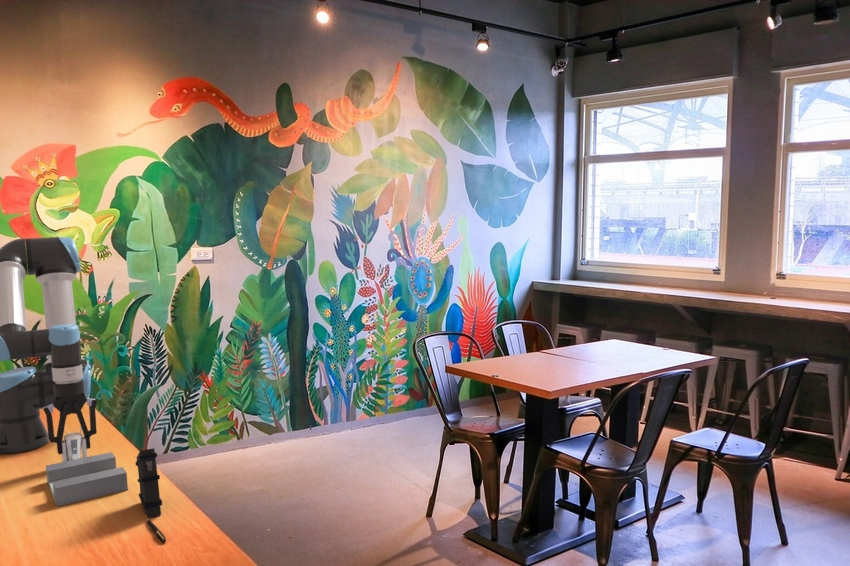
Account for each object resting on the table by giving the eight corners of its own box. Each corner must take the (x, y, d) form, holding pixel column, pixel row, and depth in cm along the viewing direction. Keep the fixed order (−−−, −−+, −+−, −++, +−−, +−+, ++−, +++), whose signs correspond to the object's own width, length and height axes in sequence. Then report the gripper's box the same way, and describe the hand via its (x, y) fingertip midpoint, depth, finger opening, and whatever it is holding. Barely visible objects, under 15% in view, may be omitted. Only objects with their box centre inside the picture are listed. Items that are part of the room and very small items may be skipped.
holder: (47, 482, 183) (45, 465, 182) (112, 467, 192) (111, 452, 191) (57, 506, 167) (55, 488, 167) (127, 489, 176) (126, 472, 176)
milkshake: (89, 462, 197) (88, 427, 196) (74, 468, 192) (72, 433, 191) (76, 460, 199) (75, 426, 198) (61, 466, 193) (60, 431, 193)
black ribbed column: (147, 517, 156) (138, 450, 160) (141, 521, 167) (134, 459, 171) (164, 513, 158) (156, 447, 162) (158, 518, 169) (150, 456, 173)
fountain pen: (144, 522, 158) (143, 515, 158) (149, 520, 159) (149, 514, 159) (162, 545, 147) (162, 538, 146) (168, 544, 147) (168, 537, 147)
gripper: (33, 388, 185) (41, 473, 187) (105, 378, 194) (111, 459, 197) (30, 383, 191) (38, 465, 193) (100, 373, 201) (106, 451, 203)
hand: (75, 462), depth 195 cm, fingers closed on milkshake, 4 cm apart
